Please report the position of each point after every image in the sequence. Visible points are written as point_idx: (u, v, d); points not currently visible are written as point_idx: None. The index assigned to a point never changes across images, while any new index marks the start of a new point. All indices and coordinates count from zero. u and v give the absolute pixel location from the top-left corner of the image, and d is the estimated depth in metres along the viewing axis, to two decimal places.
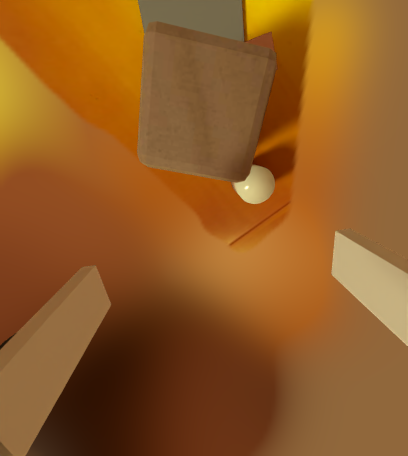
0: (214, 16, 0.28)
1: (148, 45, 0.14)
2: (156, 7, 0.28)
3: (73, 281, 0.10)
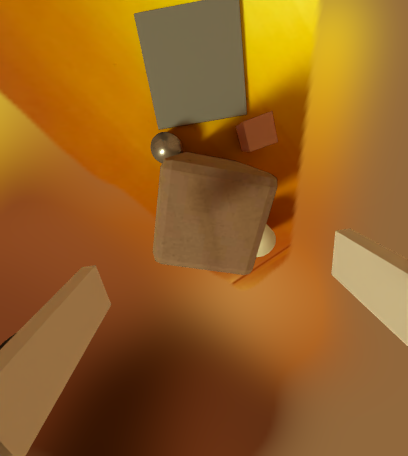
0: (218, 87, 0.30)
1: (165, 178, 0.16)
2: (164, 80, 0.30)
3: (73, 281, 0.10)
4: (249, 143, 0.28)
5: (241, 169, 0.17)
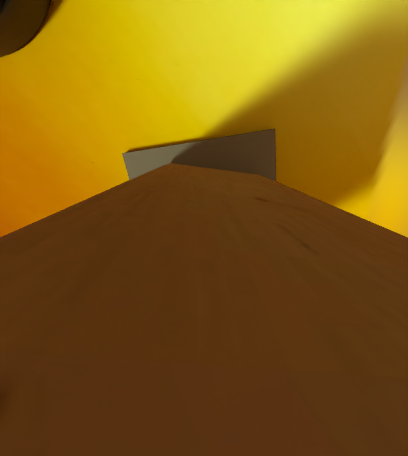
0: None
1: None
2: None
3: None
4: None
5: None
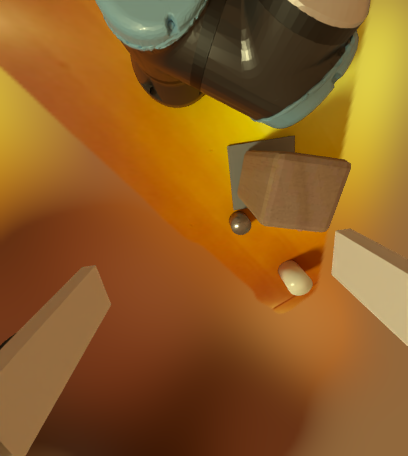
0: None
1: (279, 165, 0.25)
2: None
3: (73, 281, 0.10)
4: None
5: (327, 157, 0.25)
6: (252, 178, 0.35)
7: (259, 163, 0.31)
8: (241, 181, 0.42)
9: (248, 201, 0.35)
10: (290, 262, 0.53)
